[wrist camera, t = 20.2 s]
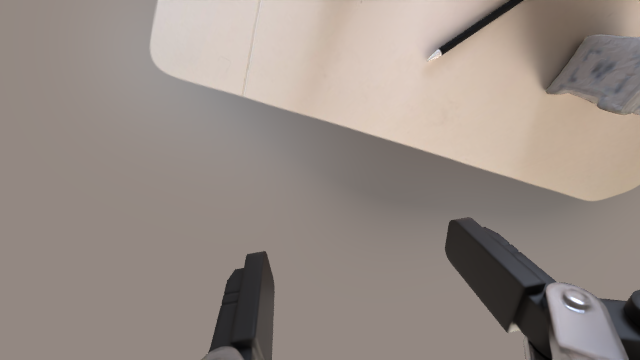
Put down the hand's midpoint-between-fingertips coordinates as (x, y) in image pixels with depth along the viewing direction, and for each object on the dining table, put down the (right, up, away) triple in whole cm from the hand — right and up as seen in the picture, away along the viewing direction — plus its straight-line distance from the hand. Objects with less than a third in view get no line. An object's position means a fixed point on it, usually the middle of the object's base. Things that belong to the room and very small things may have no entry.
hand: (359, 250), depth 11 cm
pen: (+19, +23, +19) cm, 36 cm away
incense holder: (+34, +17, +24) cm, 45 cm away
